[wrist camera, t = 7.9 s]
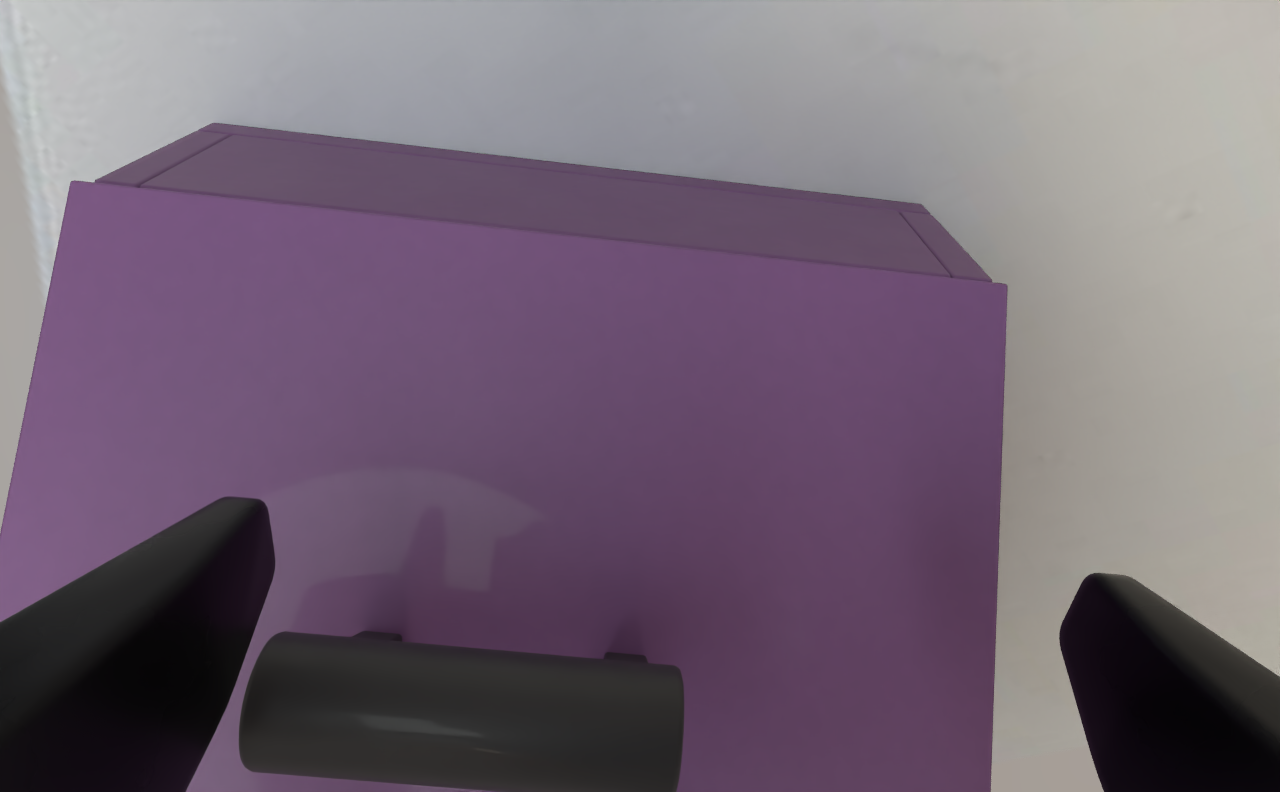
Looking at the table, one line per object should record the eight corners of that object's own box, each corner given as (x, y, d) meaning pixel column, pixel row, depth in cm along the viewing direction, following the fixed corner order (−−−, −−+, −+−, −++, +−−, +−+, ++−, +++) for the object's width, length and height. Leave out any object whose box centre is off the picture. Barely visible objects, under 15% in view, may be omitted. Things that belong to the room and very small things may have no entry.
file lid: (962, 1141, 14) (1170, 1489, 9) (-85, 1076, 13) (-493, 1419, 8) (993, 291, 16) (1177, 192, 11) (89, 191, 15) (-153, 36, 10)
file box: (803, 620, 27) (832, 751, 23) (273, 572, 26) (201, 698, 22) (922, 203, 20) (994, 280, 16) (211, 122, 19) (91, 180, 15)
